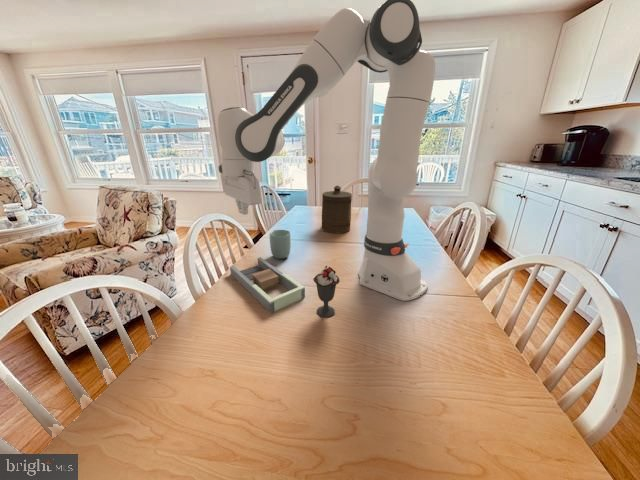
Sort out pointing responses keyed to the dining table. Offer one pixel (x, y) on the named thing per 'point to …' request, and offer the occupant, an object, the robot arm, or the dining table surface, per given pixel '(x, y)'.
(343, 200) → the wooden container
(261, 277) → the block
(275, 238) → the cup
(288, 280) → the box
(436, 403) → the dining table surface
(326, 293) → the sundae
